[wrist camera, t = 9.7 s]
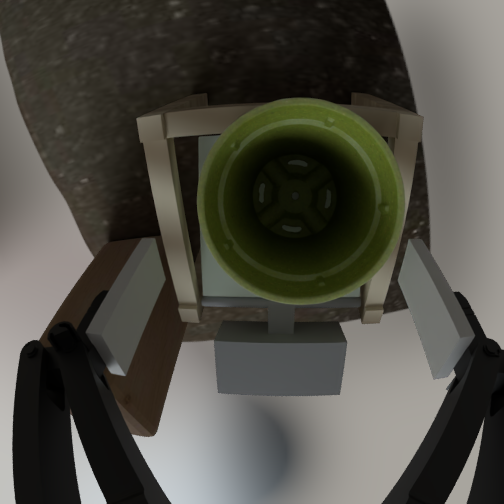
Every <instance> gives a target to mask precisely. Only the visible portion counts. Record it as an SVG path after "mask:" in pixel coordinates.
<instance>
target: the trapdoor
mask: <svg viewBox="0 0 504 504" xmlns="http://www.w3.org/2000/svg"><path fill="white" fill-rule="evenodd" d="M219 136H220V135H218V136H203V137H199V177H200V173H201V170H202V167H203V164H204V162H205V159H206V157H207V155H208V153H209V151H210V150H211V148H212V146H213V145H214V143H215V142H216V140H217V139H218V138H219ZM288 164H292V165H301V166H304V167H306V166H307V163H306V162H305V161H301V160H293V161H290V162H288ZM264 188H265V184H264V183H263V184H261V185H260V188H259V193H260V195H259V201H260V202H261V203H262V202H264ZM298 197H299V194H298V193H297V192H294V193H293V194H292V198H293V199H294V200H296V199H298ZM330 203H331V192H330V191H329V190H328V189H327V199H326V203H325V208H328V207H329V206H330ZM282 228H283V229H284V230H286V231H291V232H299V231H300V230H301V229H302V228H301V227H290V226H286V225H283V226H282ZM200 244H201V266H202V285H203V296H202V299H201V303H202V306H219V307H257V308H268V322H255V321H223V322H222V324H221V327H220V329H219V331H218V333H217V335H216V338H215V340H214V348H215V362H216V375H217V387H218V393H224V394H225V393H226V394H241V395H263V396H264V395H266V396H315V395H316V396H318V395H340V390H341V383H342V377H343V369H344V363H345V356H346V347H347V341H346V338H345V336H344V333H343V331H342V329H341V326H340V324H339V322H294V311H295V308H340V307H360V306H361V298H360V287H359V288H358V289H356V290H354V291H353V292H351V293H349V294H347V295H344V296H342V297H340V298H337V299H334V300H331V301H327V302H323V303H318V304H308V305H294V304H285V303H279V302H275V301H271V300H268V299H265V298H262V297H260V296H258V295H255V294H253V293H251V292H250V291H248V290H246V289H244V288H243V287H242V286H240V285H239V284H238V283H236V282H235V281H234V280H233V279H232V278H230V277H229V276H228V275H227V274H226V273H225V272H224V270H223V269H222V268H221V267H220V266H219V264H218V263H217V261H216V260H215V259H214V257H213V255H212V254H211V252H210V250H209V249H208V247H207V245H206V243H205V240H204V238H203V235H202V231H201V228H200ZM224 296H227V297H224Z"/></svg>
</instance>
